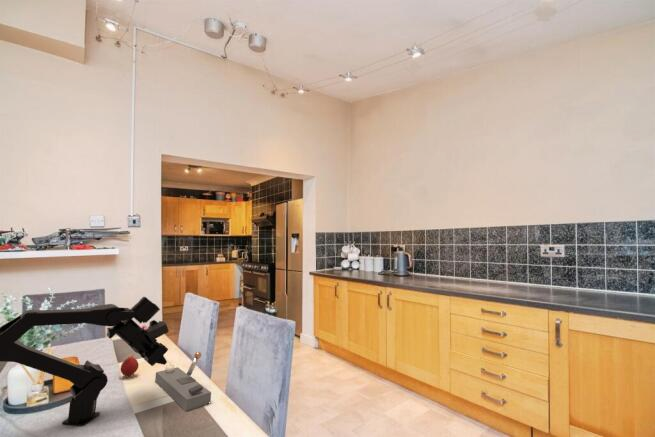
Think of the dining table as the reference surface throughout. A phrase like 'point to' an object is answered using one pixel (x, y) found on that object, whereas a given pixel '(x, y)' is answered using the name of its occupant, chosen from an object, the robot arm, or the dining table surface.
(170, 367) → the push button
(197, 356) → the toggle lever
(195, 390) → the rocker
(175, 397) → the switch panel
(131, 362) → the onion
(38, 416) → the dining table surface
